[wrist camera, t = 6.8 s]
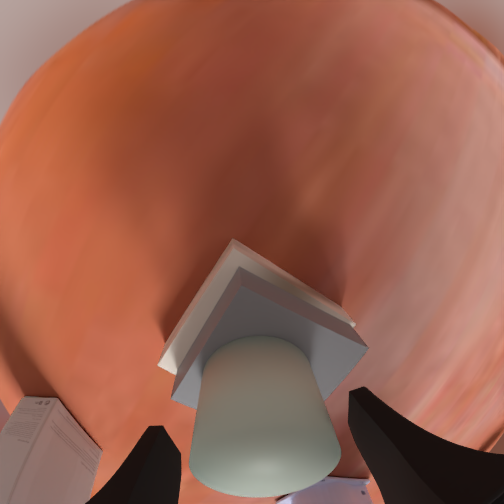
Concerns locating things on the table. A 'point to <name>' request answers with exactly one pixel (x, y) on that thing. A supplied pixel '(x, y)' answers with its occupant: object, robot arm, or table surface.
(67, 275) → the table surface
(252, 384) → the green cylinder
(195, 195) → the table surface
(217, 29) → the table surface
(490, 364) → the table surface
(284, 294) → the top block
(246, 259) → the base block
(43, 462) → the skincare box
